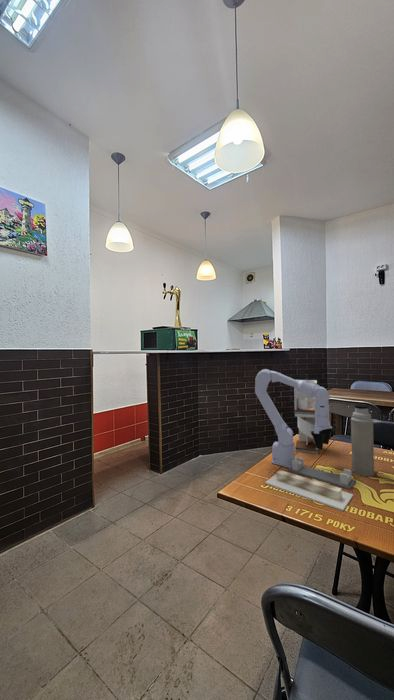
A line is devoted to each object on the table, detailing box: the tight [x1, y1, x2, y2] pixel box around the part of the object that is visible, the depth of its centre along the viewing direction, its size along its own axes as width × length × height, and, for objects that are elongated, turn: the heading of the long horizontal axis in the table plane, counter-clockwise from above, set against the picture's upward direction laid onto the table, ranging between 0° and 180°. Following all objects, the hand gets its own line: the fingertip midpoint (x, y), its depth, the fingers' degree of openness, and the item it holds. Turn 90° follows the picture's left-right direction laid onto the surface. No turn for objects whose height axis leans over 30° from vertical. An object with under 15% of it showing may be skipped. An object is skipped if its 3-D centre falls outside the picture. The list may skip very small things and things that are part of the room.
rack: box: [287, 456, 357, 490], centre depth 113 cm, size 24×8×4 cm, turn 47°
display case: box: [293, 379, 319, 455], centre depth 144 cm, size 11×11×35 cm
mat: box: [264, 474, 354, 512], centre depth 103 cm, size 28×12×1 cm, turn 47°
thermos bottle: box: [350, 404, 375, 477], centre depth 116 cm, size 8×8×28 cm
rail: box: [275, 469, 343, 501], centre depth 103 cm, size 23×3×3 cm, turn 47°
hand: (322, 446), depth 121 cm, fingers open, 7 cm apart
